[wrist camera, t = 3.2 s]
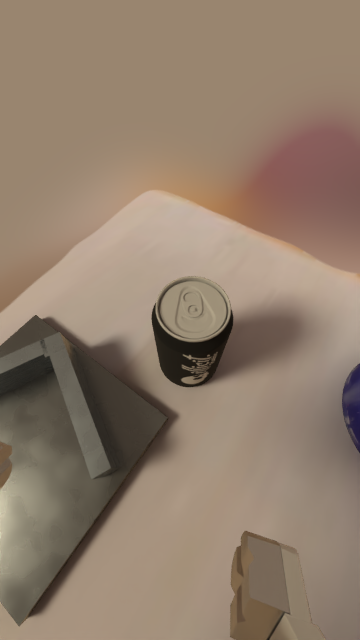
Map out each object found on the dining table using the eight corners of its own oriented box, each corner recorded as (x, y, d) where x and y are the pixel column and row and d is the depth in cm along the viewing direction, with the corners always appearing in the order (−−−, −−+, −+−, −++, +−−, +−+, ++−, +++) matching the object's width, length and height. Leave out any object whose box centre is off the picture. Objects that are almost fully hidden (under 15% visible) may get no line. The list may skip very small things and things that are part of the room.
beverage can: (163, 393, 29) (154, 352, 18) (156, 338, 32) (146, 276, 21) (222, 384, 29) (247, 339, 19) (210, 331, 32) (226, 267, 22)
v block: (27, 618, 21) (-17, 662, 16) (-105, 449, 26) (-165, 446, 22) (168, 419, 28) (165, 410, 23) (40, 319, 33) (17, 296, 28)
